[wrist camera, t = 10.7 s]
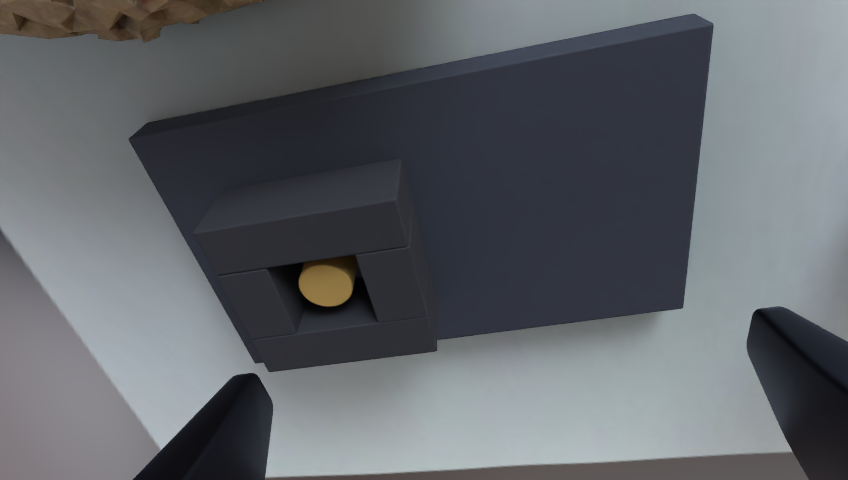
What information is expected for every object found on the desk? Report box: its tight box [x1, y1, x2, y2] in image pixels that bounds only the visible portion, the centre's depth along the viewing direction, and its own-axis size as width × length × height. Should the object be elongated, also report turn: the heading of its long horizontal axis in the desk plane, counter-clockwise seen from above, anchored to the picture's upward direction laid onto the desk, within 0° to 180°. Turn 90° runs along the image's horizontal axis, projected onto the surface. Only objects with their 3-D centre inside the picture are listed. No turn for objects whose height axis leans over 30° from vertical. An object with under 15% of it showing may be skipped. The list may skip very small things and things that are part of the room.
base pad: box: [129, 14, 713, 363], centre depth 20 cm, size 20×12×4 cm, turn 101°
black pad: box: [193, 158, 437, 372], centre depth 20 cm, size 7×7×3 cm
